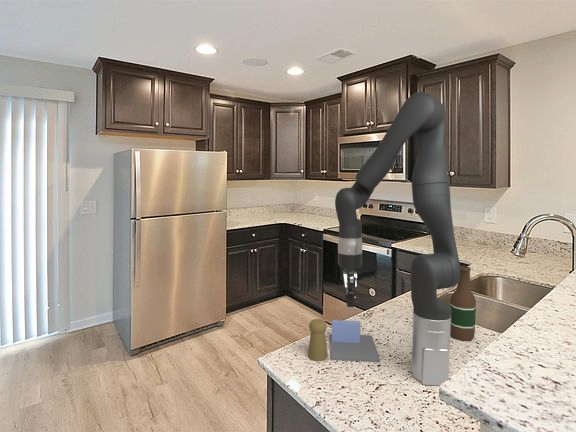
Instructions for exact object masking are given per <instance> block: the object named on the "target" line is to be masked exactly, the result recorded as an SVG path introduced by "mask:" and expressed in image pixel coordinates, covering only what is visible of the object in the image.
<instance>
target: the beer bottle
mask: <svg viewBox="0 0 576 432" xmlns="http://www.w3.org/2000/svg"><path fill="white" fill-rule="evenodd" d="M471 271H472V269H471V266H468V265H460V279H459V282H458V283H457V285H456V290H455V291H454V292H453V293H452V295H451V297H450V300H449V305H450V306H451V330H450V337H452V338H453V339H454V340H457V341H460V342H471V341H473V339H474V338H475V333H476V315H477V314H476V313H477V303H476V302H477V300H476V297H475V295H474V293H473V292H472V290H471V289H472V288H471Z"/></svg>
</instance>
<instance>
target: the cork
mask: <svg viewBox="0 0 576 432" xmlns="http://www.w3.org/2000/svg"><path fill="white" fill-rule="evenodd" d="M308 325H309V326H308V329H309V331H310V336H309V337H310V338H309V344H308V349H307V351H308V352H307V358H308V359H309V360H311V361H313V362H323V361H326V360H327V359H328V357H329V355H328V347H327V339H326V331H327V329H328V326H327V322H326V321H325V320H323V319H320V318H315V319H312V320H310V322H309V324H308Z"/></svg>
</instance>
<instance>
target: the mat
mask: <svg viewBox="0 0 576 432" xmlns="http://www.w3.org/2000/svg"><path fill="white" fill-rule="evenodd" d="M329 340H330V341H329V342H330V358H331V359H330V360H331V361H346V362H347V361H348V362H349V361H350V362H366V363H367V362H368V363H370V362H371V363H381V358H380V356H379V353H378V350H377V347H376V344H375V340H374V337H373V335H370V334H369V335H368V334H367V335H366V334H360V343H347V342H332V333H330V334H329Z"/></svg>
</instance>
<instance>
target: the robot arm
mask: <svg viewBox="0 0 576 432" xmlns="http://www.w3.org/2000/svg"><path fill="white" fill-rule="evenodd" d="M413 134H414V135H415V140H416V142H415V143H416V150H417V152H416V160H415V162H414V167H413V171H412V177H411V193H412V203H413V204H412V205H413V206H414V208H415V209H414V210H415V211H416V213H417V214H418V216H419V218H420V219H421V221H422V222H423V224H424V225H425V227H426V228H427V230H428V232H429V235H430V237H431V242H432V249H433V253H426V254H424V253H423V254H418V255H416V256H415V257H414V258H413V260H412V262H411V266H410V298H411V302H412V307H413V308H412V309H413V310H412V313H413V314H412V335H411V336H412V341H411V343H412V344H411V371H410V372H411V375H412V377H413V378H414V379H416V380H417V381H419V382H420V383H421V384H422V385H423V386H440V385H441V384H442V383H444V382H445V381H447V380H448V381H449V375H450V374H449V373H450V372H449V371H450V350H451V349H450V348H451V336H450V330H451V306H450V303H448V302H446V301H444V300H443V299H439V298H438V294H437V293H438V292H437V291H438V290H442V289H451V288H454V287H457V285H458V282H459V279H460V266H461V264H460V259H459V253H458V248H457V243H456V238H455V231H454V224H453V215H452V202H451V188H450V179H449V178H450V177H449V170H448V161H447V160H448V159H447V153H446V145H445V144H446V143H445V141H446V139H445V137H446V109H445V107H444V104H443V102H441V100H439V99H438V98H436V97H435V96H434V95H432V94H431V93H429V92H426V91H419V92H415V93H413V94H412V95H410V96H409V97H407V99H406V100H405V101H404V102H403V104H402V105H401V108H399V111H398V112H397V114H396V116H395V118H394V120H393V121H392V123H391V125H390V126H389V128H388V130H387V131H386V133H385V135H384V136H383V138H382V139H381V141H380V142H379V144H378V146H377V147H376V149H375V150H374V151H373V152H372V154H371V155H370V157H369V158H368V159H367V160H366V161H365V163H364V164H363V165H362V166H361V167H360V168H359V170H358V171H357V173H356V175H355V180H356V181H355V182H354V184H353V185H352V186H351V187H344V188H341V189H339V191H338V192H336V195H335V199H334V200H335V201H334V206H335V211H336V216H337V220H338V240H337V241H338V243H337V264H338V265H337V266H339V267H340V268H343V269H344V270H343V271H342V274H343V284H344V288H345V289H344V292H345V293H344V298H345V300H346V307H348V308H354V307H355V296H356V294H357V292H356V291H357V290H356V289H357V278H358V274H357V271H356V269H359V268H361V267H362V266H363V240H362V238H363V237H362V236H363V235H362V233H363V228H362V221H361V219H359V218H358V216H357V215H358V214H357V210H360V209H361V208H362V207H364V206H365V204H367V202H368V201H369V199H371V196H372V194H373V193H374V191H375V189H376V187H377V186H379V184H380V183H381V182H382V180H383V179H385V177H386V176H387V175H388V174H389V172H390V171H391V170H392V168H393V166H394V164H395V162H396V160H397V158H398V155H399V153H400V152H401V149H402V148H403V146H404V145H405V143H406V142H407V141H408V140H409V138H410V137H411V136H412V135H413ZM440 387H441V386H440Z"/></svg>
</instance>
